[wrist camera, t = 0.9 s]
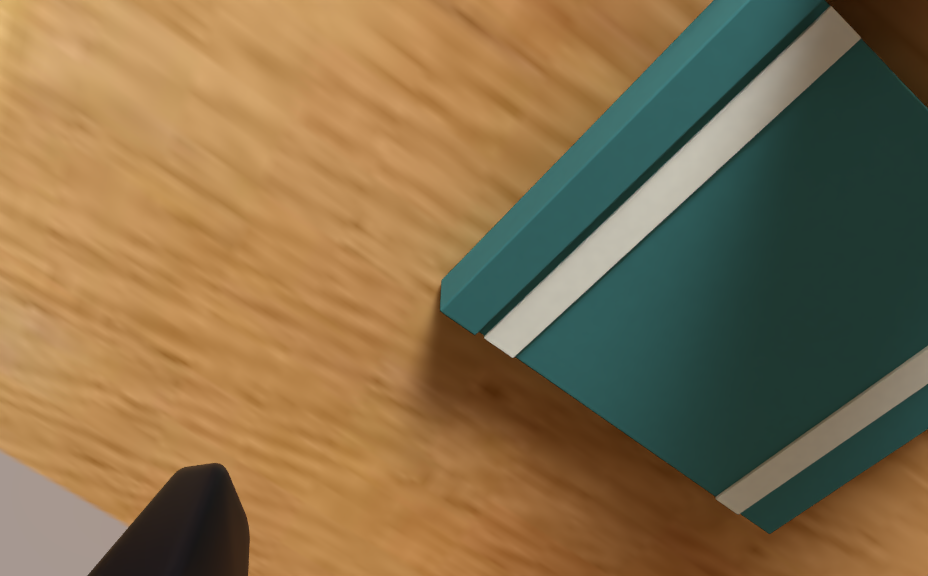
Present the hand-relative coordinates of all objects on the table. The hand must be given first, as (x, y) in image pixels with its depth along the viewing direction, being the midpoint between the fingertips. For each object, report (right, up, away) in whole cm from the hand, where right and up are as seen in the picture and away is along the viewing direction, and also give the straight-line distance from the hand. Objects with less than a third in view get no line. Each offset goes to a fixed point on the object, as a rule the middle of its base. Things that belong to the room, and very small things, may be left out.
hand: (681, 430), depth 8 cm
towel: (+6, +2, +14) cm, 15 cm away
